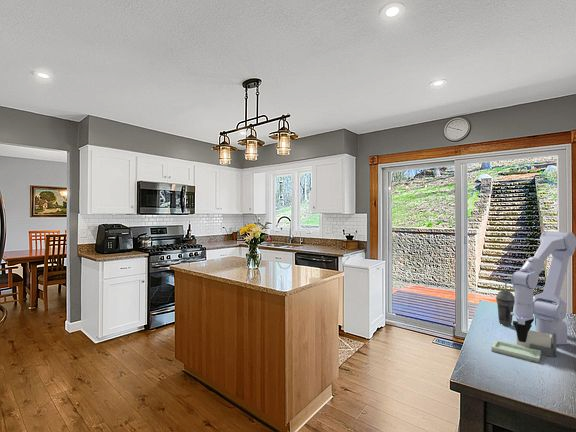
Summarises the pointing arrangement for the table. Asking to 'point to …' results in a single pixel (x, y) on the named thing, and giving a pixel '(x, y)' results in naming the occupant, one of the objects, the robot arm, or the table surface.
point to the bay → (544, 349)
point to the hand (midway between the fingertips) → (523, 338)
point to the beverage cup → (505, 306)
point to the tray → (517, 351)
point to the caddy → (537, 339)
